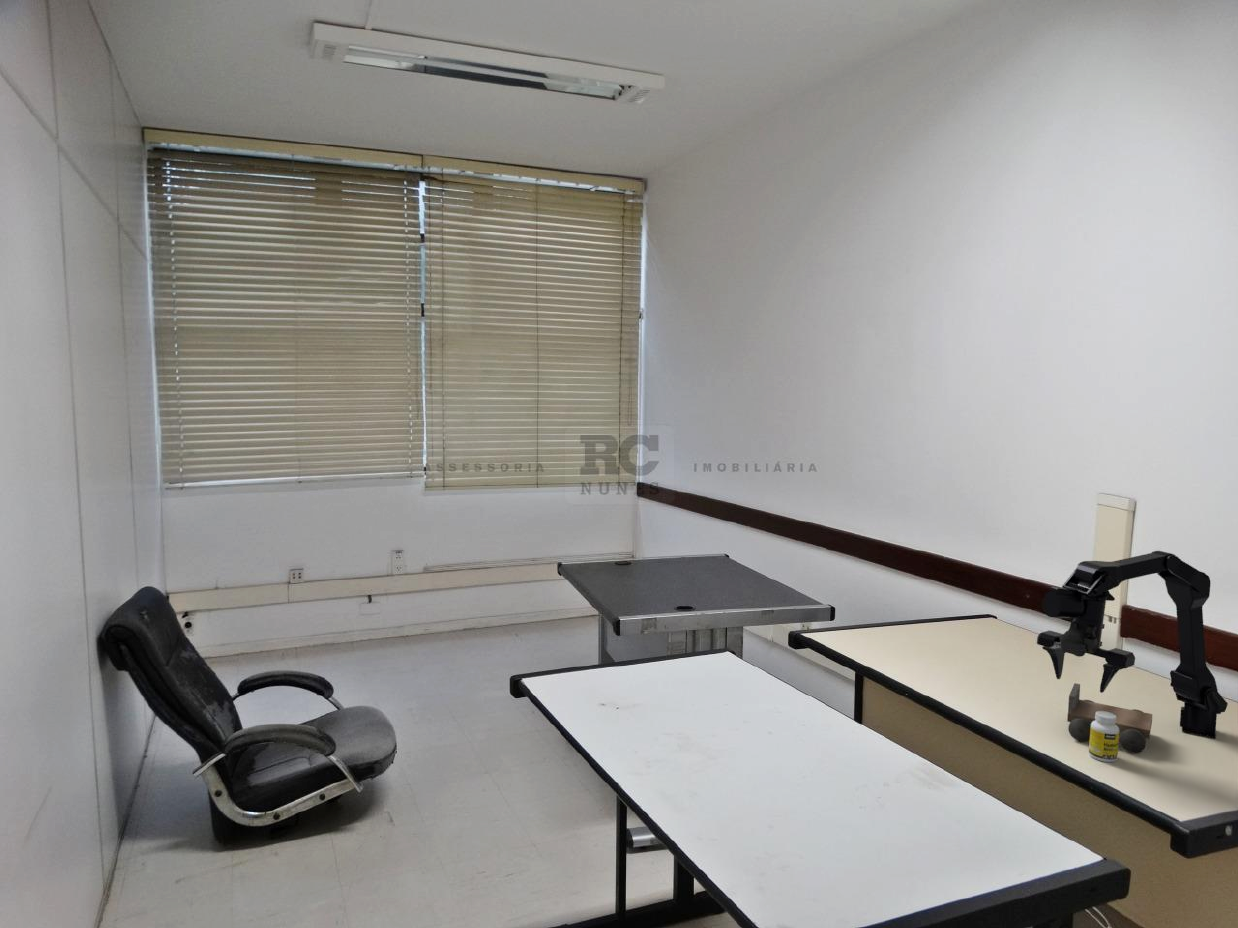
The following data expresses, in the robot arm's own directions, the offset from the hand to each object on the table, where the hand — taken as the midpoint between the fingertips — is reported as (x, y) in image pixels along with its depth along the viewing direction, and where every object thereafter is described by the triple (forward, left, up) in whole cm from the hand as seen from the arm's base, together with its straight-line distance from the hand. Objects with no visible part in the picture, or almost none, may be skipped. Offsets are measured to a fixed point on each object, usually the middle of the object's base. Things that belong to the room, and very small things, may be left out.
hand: (1079, 685), depth 182 cm
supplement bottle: (-6, +4, -14) cm, 16 cm away
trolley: (-6, -9, -14) cm, 17 cm away
